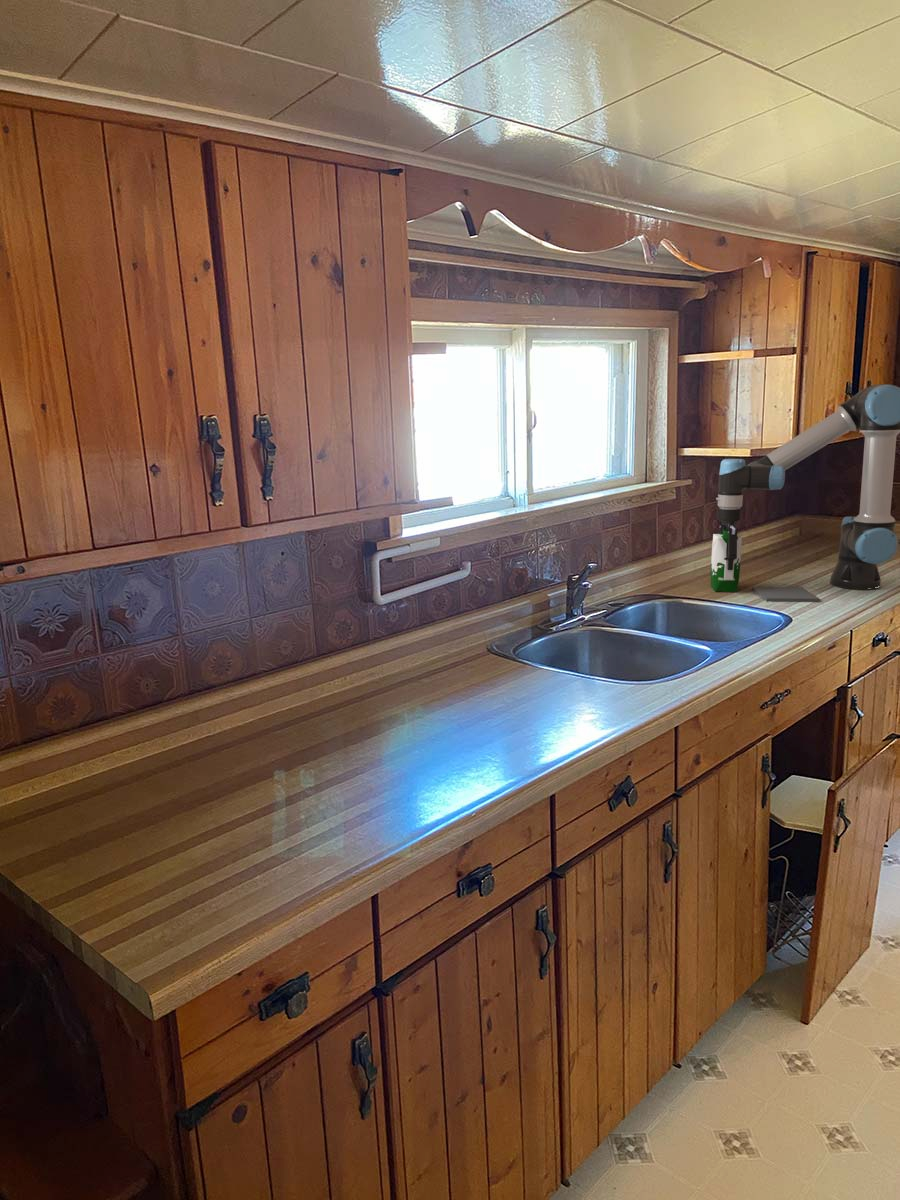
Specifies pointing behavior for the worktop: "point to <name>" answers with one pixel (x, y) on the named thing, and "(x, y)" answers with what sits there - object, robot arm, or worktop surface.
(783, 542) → the worktop surface
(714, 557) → the soya milk
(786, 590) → the charcoal mat
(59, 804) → the worktop surface
